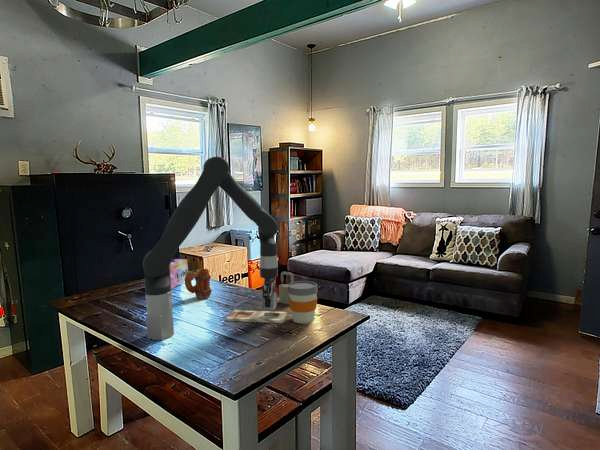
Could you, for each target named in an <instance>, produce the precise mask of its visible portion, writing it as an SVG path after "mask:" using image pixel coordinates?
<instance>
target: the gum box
mask: <svg viewBox="0 0 600 450" xmlns="http://www.w3.org/2000/svg"><path fill="white" fill-rule="evenodd" d="M188 265H189V264H188V258H185V259H183V258H182V259H181V258H173V259H172V261H171V263H170V279H171V289H172V288H173V287H175V286H177V285H179V284H181V283H182V282H184V281H185V276H186V274H187V273H188V272H189V266H188ZM172 290H173V289H172Z"/></svg>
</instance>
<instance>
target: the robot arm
mask: <svg viewBox="0 0 600 450" xmlns="http://www.w3.org/2000/svg"><path fill="white" fill-rule="evenodd" d="M219 188H221V190H222V191H223V192H225V194H227V195H228V196H229V197H230V199H231V200H232V201H233V202H234V203H235V204H236V206H237V207H238V208H239V210H241V211H242V213H244V215H245V216H246V217H247V218H248V219H250V221H252V222H253V223H254V224H255V225H256V226H257V232H258V239H259V245H260V247H259V249H260V250H259V251H260V252H259V253H260V254H259V277H260V278H262V279H264V281H263V285H262V286H261V290H262V292H261V293H262V295H263V298H264V299H265V307H266V308H270V298H271V293H272V292H276V282H277V281H276V280H277V279H276V278H278V277H279V269H278V268H279V265H278V264H279V263H278V262H279V260H278V246H277V245H278V244H277V242H276V241H275V236H276V235H277V234H278V232H279V229H280V228H279V224H278V222H277V220H276V219H275V218H274V217H273V216H272V215H271V214H270V213H268V212H267V211H266V210H265V209H264V208H263V206H262V205H261V204H260V203H259V202H258V201H257V200H256V199H255V198H254V196H252V195H251V194H250V193H249V192H248V191H247V190H246V189H245V188H244V187H243V186H242V185H241V184H239V183H238V181H236V179H235V178H234V176H232V174H231V172H230V166H229V162H228V161H227V160H226V158H223V157H222V156H211V157H209V158H207V160H205V161H204V163H203V166H202V172H201V174H200V176H199V178H198V180H197V181H196V182H195V185H193V187H191V189H190V190H189V192H187V193H186V195H185V196H184V197H183V198H182V200H181V201H180V202H179V203H178V205H177V206H176V208H175V210H174V211H173V213H172V214H171V216H170V218H169V219H168V222H167V224H166V226H165V228H164V231H163V233H162V234H161V237H160V239H159V240H158V242H156V244H155V246H154V247H153V248H152V249H151V250H149V251H147V253H146V254H145V255H144V257H143V260H142V268H143V271H144V272H143V274H144V290H145V291H144V293H145V306H146V315H145V321H146V332H147V333H146V334H147V340H150V339H152V340H153V341H155V340H156V341H163V340H166V339H168V338H170V337H172V336H174V334H175V328H174V314H173V313H174V312H173V301H172V299H173V298H172V297H173V296H172V290H171V279H170V263H171V261H172V260H173V259H174V258H175V255H176V253H177V251H178V249H179V248H180V247H181V245H182V244H183V242H184V241H185V240H186V239H187V237H188V236H189V235H190V233H191V232H192V230H193V229H194V228H195V227H196V225H197V223H198V221H199V220H200V219H201V217H202V215H203V213H204V211H205V209H206V208H207V206H208V204H209V202H210V201H211V198H212V196H213V195H214V193H215V192H216V190H217V189H219ZM266 294H267V296H266ZM152 340H151V341H152Z"/></svg>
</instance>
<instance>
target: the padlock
mask: <svg viewBox="0 0 600 450" xmlns="http://www.w3.org/2000/svg"><path fill="white" fill-rule="evenodd" d="M284 275H285V276H290V283H292V282H295V281H294V274H293V273H292V272H289V271H282V272H281V273H280V281H281V284H279V285H278V294H279V295H278V296H279V302H280V303H281V304H285V305H289V299H288V298H289V293H288V284H285V283H284V280H285V278H284V277H285V276H284Z"/></svg>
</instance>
